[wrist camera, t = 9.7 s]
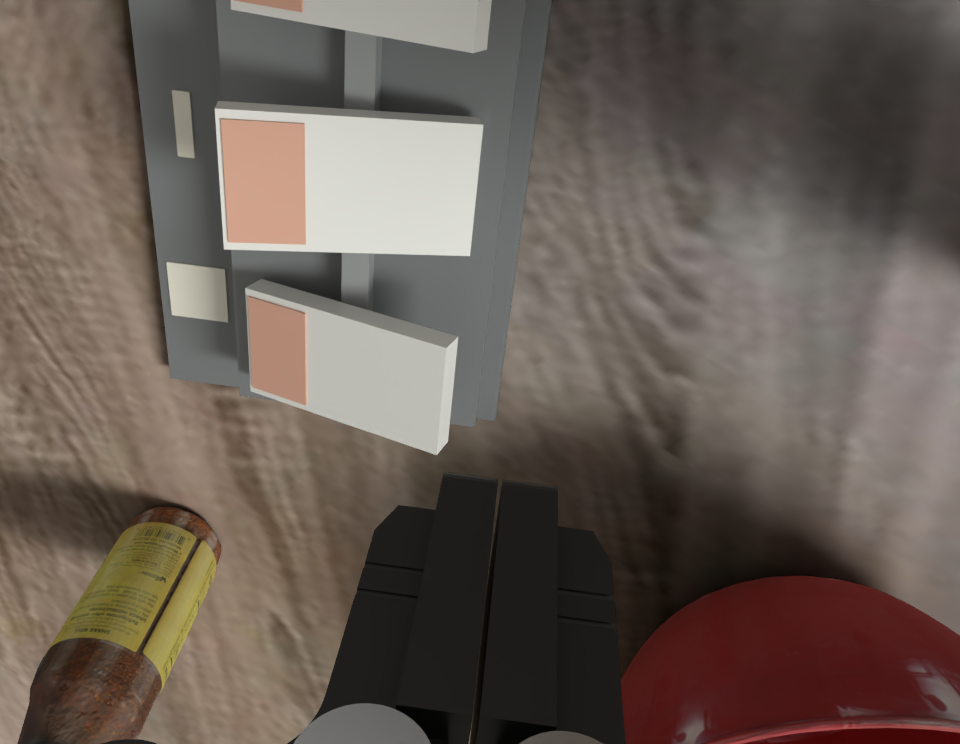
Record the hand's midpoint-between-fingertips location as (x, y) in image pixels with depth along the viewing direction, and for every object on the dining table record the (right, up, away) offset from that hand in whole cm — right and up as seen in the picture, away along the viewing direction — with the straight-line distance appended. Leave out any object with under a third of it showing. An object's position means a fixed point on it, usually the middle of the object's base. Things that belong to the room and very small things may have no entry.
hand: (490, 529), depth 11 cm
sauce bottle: (-19, -9, +41) cm, 46 cm away
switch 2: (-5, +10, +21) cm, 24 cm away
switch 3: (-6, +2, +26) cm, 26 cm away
